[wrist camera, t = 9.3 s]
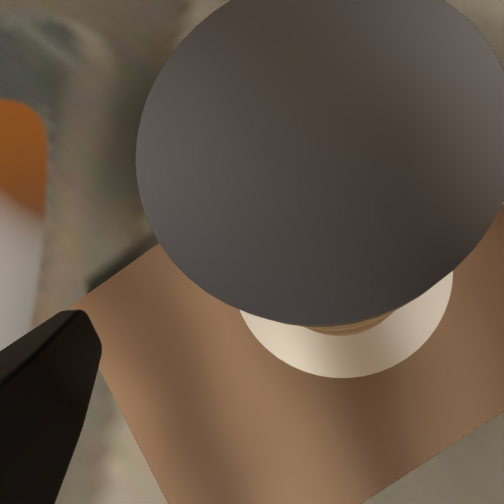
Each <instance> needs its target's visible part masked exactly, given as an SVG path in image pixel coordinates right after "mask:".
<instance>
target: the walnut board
mask: <svg viewBox="0 0 504 504" xmlns="http://www.w3.org/2000/svg"><path fill="white" fill-rule="evenodd" d="M68 309H69V310H77V309H81V310H84V311H85V312H86V313H87V314H88V316H89V318H90V320H91V322H92V324H93V326H94V328H95V330H96V332H97V334H98V336H99V338H100V340H101V344H102V355H101V359H100V363H99V369H100V371H101V373H102V375H103V377H104V379H105V381H106V383H107V385H108V387H109V389H110V391H111V393H112V395H113V397H114V399H115V401H116V403H117V405H118V407H119V408H120V410H121V412H122V414H123V416H124V418H125V420H126V422H127V424H128V426H129V428H130V430H131V432H132V434H133V436H134V438H135V440H136V442H137V444H138V446H139V448H140V450H141V452H142V454H143V455H144V457H145V459H146V461H147V463H148V465H149V467H150V469H151V471H152V473H153V475H154V477H155V479H156V481H157V483H158V485H159V487H160V489H161V491H162V493H163V495H164V497H165V499H166V500H167V502H168V504H361V503H363V502H364V501H366V500H368V499H369V498H371V497H372V496H374V495H375V494H377V493H378V492H380V491H381V490H383V489H384V488H386V487H387V486H389V485H391V484H392V483H394V482H395V481H397V480H398V479H400V478H401V477H403V476H404V475H406V474H407V473H409V472H410V471H412V470H414V469H415V468H417V467H418V466H420V465H421V464H423V463H424V462H426V461H427V460H429V459H430V458H432V457H433V456H435V455H437V454H438V453H440V452H441V451H443V450H444V449H446V448H447V447H449V446H450V445H452V444H453V443H455V442H456V441H458V440H460V439H461V438H463V437H464V436H466V435H467V434H469V433H470V432H472V431H473V430H475V429H476V428H478V427H479V426H481V425H483V424H484V423H486V422H487V421H489V420H490V419H492V418H493V417H495V416H496V415H498V414H499V413H501V412H502V411H504V206H503V205H501V207H500V209H499V211H498V213H497V215H496V217H495V219H494V221H493V222H492V224H491V226H490V228H489V229H488V231H487V232H486V233H485V235H484V236H483V237H482V239H481V240H480V242H479V243H478V244H477V246H476V247H475V248H474V250H473V251H472V252H471V253H470V254H469V255H468V256H467V257H466V258H465V259H464V260H463V261H462V262H461V263H460V264H459V265H458V266H457V267H456V268H455V269H454V270H453V271H452V272H451V273H449V274H448V275H447V276H446V277H444V278H443V279H442V280H440V281H439V282H438V283H437V284H435V285H434V286H433V287H431V288H430V289H429V290H428V291H426V292H425V293H424V294H422V295H421V296H419V297H418V298H416V299H414V300H413V301H411V302H409V303H408V304H406V305H404V306H402V307H401V308H399V309H396V310H395V311H394V312H393V313H392V314H390V315H389V316H388V317H387V318H386V319H385V320H383V321H382V322H381V323H380V324H378V325H376V326H375V327H373V328H371V329H369V330H366V331H364V332H361V333H358V334H354V335H347V336H332V335H325V334H321V333H318V332H315V331H312V330H310V329H307V328H305V327H302V326H296V325H289V324H283V323H279V322H276V321H272V320H268V319H264V318H261V317H258V316H255V315H252V314H249V313H246V312H244V311H242V310H239V309H237V308H234V307H232V306H230V305H227V304H225V303H224V302H222V301H220V300H219V299H217V298H215V297H214V296H212V295H210V294H208V293H207V292H205V291H204V290H203V289H201V288H200V287H199V286H198V285H196V284H195V283H194V282H193V281H191V280H190V279H189V278H188V277H187V276H186V275H185V274H184V273H183V272H182V271H181V270H180V269H179V268H178V267H177V266H176V265H175V264H174V263H173V262H172V261H171V259H170V258H169V256H168V255H167V254H166V252H165V251H164V249H163V248H162V247H161V245H160V244H159V243H158V244H157V245H155V246H154V247H152V248H151V249H150V250H148V251H147V252H145V253H144V254H143V255H141V256H140V257H139V258H137V259H136V260H134V261H133V262H132V263H130V264H129V265H127V266H126V267H125V268H123V269H122V270H120V271H119V272H118V273H116V274H115V275H113V276H112V277H111V278H109V279H108V280H107V281H105V282H104V283H102V284H101V285H100V286H98V287H97V288H95V289H94V290H93V291H91V292H90V293H88V294H87V295H86V296H84V297H83V298H82V299H80V300H79V301H77V302H76V303H75V304H73V305H72V306H70V307H69V308H68Z"/></svg>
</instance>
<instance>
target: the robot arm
mask: <svg viewBox="0 0 504 504" xmlns="http://www.w3.org/2000/svg"><path fill="white" fill-rule="evenodd" d="M101 355H102V344H101V340H100V338H99V336H98V334H97V332H96V330H95V328H94V326H93V324H92V322H91V320H90V318H89V316H88V314H87V313H86V312H85V311H84V310H81V309H77V310H65V311H61V312H59V313H57V314H56V315H54V316H53V317H51V318H50V319H48V320H47V321H45V322H44V323H42V324H41V325H39V326H38V327H36V328H35V329H33V330H32V331H30V332H29V333H27V334H26V335H24V336H23V337H21V338H19V339H18V340H16V341H15V342H13V343H12V344H10V345H9V346H7V347H6V348H5V349H3V350H1V351H0V504H55V502H56V499H57V496H58V494H59V491H60V488H61V485H62V483H63V480H64V477H65V475H66V472H67V469H68V467H69V464H70V461H71V458H72V456H73V453H74V450H75V448H76V445H77V442H78V439H79V436H80V434H81V431H82V427H83V424H84V421H85V417H86V413H87V410H88V406H89V402H90V398H91V394H92V390H93V386H94V383H95V379H96V375H97V371H98V367H99V363H100V359H101Z"/></svg>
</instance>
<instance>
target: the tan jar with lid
mask: <svg viewBox="0 0 504 504" xmlns="http://www.w3.org/2000/svg"><path fill="white" fill-rule="evenodd" d="M135 162H136V176H137V184H138V189H139V194H140V199H141V203H142V206H143V209H144V212H145V215H146V217H147V220H148V223H149V225H150V227H151V229H152V231H153V233H154V235H155V237H156V238H157V240H158V242H159V244H160V245H161V247H162V248H163V249H164V251H165V252H166V254H167V255H168V256H169V258H170V259H171V261H172V262H173V263H174V264H175V265H176V266H177V267H178V268H179V269H180V270H181V271H182V272H183V273H184V274H185V275H186V276H187V277H188V278H189V279H190V280H191V281H193V282H194V283H195V284H196V285H198V286H199V287H200V288H201V289H203V290H204V291H205V292H207V293H208V294H210V295H212V296H214V297H215V298H217V299H219V300H220V301H222V302H224V303H225V304H227V305H230V306H232V307H234V308H237V309H239V310H242V311H244V312H246V313H249V314H252V315H255V316H258V317H261V318H264V319H268V320H272V321H276V322H279V323H283V324H289V325H296V326H302V327H305V328H307V329H310V330H312V331H315V332H318V333H321V334H325V335H332V336H347V335H354V334H358V333H361V332H364V331H366V330H369V329H371V328H373V327H375V326H376V325H378V324H380V323H381V322H382V321H383V320H385V319H386V318H387V317H388V316H389V315H390V314H392V313H393V312H394V311H395V310H396V309H399V308H401V307H402V306H404V305H406V304H408V303H409V302H411V301H413V300H414V299H416V298H418V297H419V296H421V295H422V294H424V293H425V292H426V291H428V290H429V289H430V288H431V287H433V286H434V285H435V284H437V283H438V282H439V281H440V280H442V279H443V278H444V277H446V276H447V275H448V274H449V273H451V272H452V271H453V270H454V269H455V268H456V267H457V266H458V265H459V264H460V263H461V262H462V261H463V260H464V259H465V258H466V257H467V256H468V255H469V254H470V253H471V252H472V251H473V250H474V248H475V247H476V246H477V244H478V243H479V242H480V240H481V239H482V237H483V236H484V235H485V233H486V232H487V231H488V229H489V228H490V226H491V224H492V222H493V221H494V219H495V217H496V215H497V213H498V211H499V209H500V207H501V205H502V203H503V201H504V70H503V68H502V66H501V64H500V62H499V60H498V57H497V56H496V54H495V53H494V51H493V50H492V48H491V47H490V45H489V44H488V42H487V41H486V39H485V38H484V36H483V35H482V34H481V33H480V32H479V31H478V30H477V29H476V27H475V26H474V25H473V24H472V23H471V22H470V21H469V20H468V19H467V18H466V17H465V16H464V15H462V14H461V13H460V12H459V11H458V10H456V9H455V8H454V7H453V6H452V5H450V4H449V3H447V2H446V1H444V0H231V1H229V2H228V3H226V4H225V5H223V6H222V7H220V8H219V9H217V10H216V11H214V12H213V13H212V14H210V15H209V16H208V17H207V18H206V19H205V20H203V21H202V22H201V23H200V24H199V25H197V26H196V27H195V28H194V29H193V30H192V31H191V32H190V33H189V34H188V35H187V36H186V38H185V39H184V40H183V41H182V42H181V43H180V44H179V45H178V47H177V48H176V49H175V51H174V52H173V53H172V54H171V56H170V57H169V58H168V60H167V61H166V63H165V64H164V66H163V68H162V69H161V71H160V73H159V74H158V76H157V78H156V80H155V82H154V84H153V86H152V88H151V91H150V93H149V95H148V97H147V100H146V103H145V106H144V109H143V112H142V116H141V119H140V124H139V130H138V135H137V142H136V159H135Z"/></svg>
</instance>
